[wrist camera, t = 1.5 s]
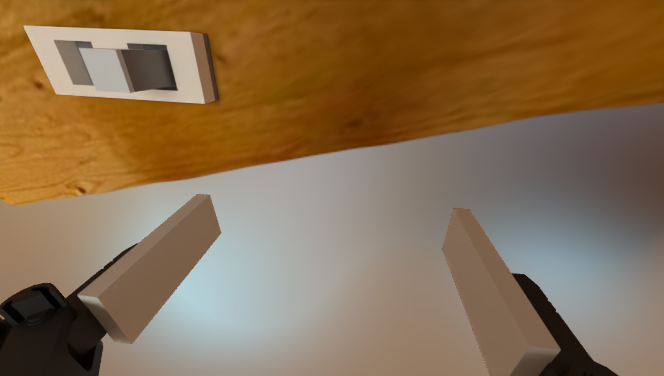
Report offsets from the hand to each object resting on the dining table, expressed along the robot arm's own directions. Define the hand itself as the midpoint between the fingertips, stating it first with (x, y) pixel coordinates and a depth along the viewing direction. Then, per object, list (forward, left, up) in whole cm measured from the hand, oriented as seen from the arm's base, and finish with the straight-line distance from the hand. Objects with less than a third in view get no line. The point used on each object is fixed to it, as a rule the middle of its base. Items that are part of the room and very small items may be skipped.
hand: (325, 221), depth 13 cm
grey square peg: (-6, -25, -23) cm, 34 cm away
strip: (-6, -30, -24) cm, 39 cm away
